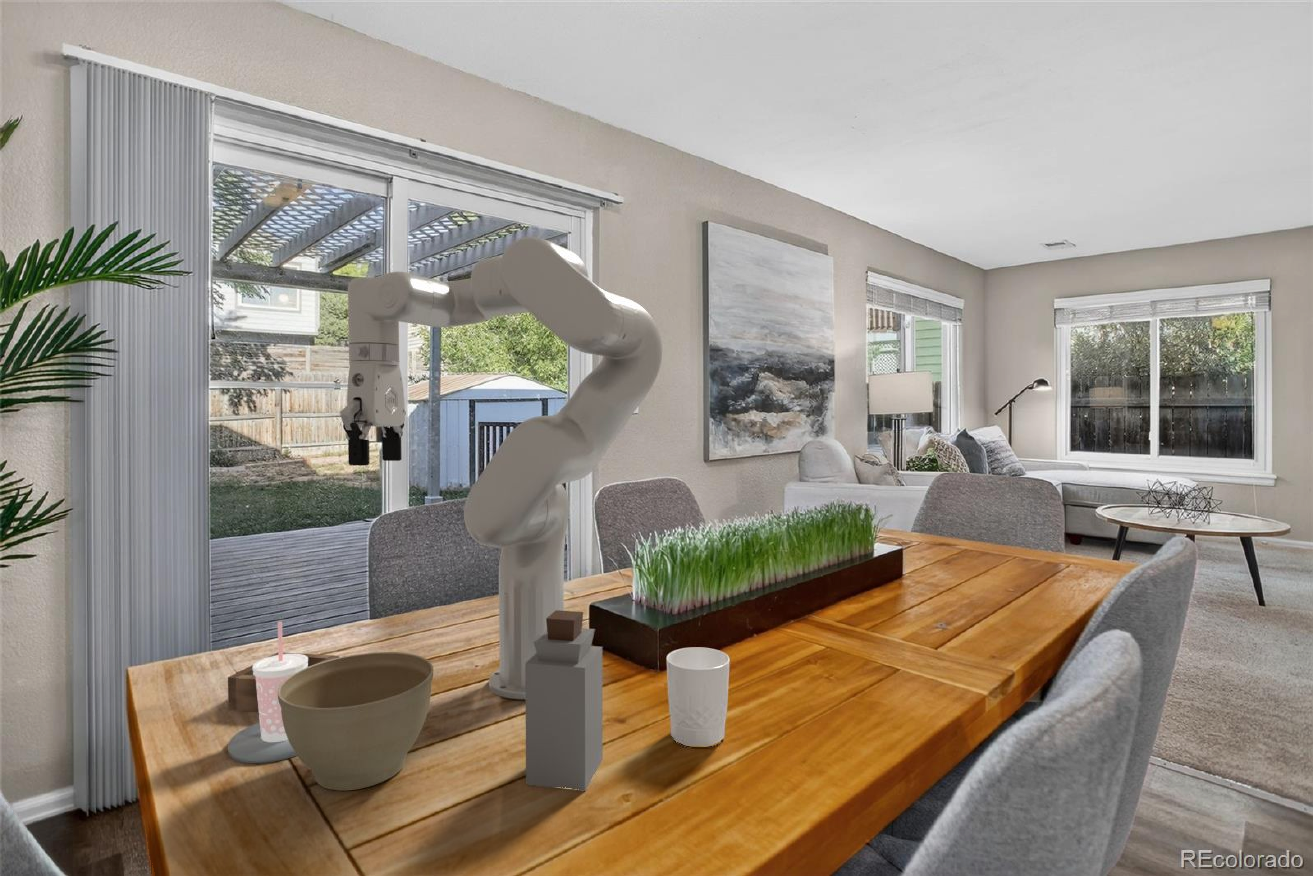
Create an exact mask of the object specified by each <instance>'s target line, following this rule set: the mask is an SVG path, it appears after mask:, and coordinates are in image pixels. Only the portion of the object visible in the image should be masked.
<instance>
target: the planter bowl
mask: <svg viewBox="0 0 1313 876" xmlns="http://www.w3.org/2000/svg"><path fill="white" fill-rule="evenodd" d="M433 678H434V665H433V664H432V662H431V661H430V660H428V659H427V658H425V657H423V656H420V655H418V654H417V655H416V654H414V653H407V652H397V651H396V652H395V651H382V652H379V651H378V652H368V653H359V654H352V655H351V654H350V655H345V656H341V657H340V656H339V658H335V659H331V660H327V661H324V662H320V663H317V664H315V665H312V666H309V667H307V668H304V669H302V670H300V671H298V672H296V673H294V674H293V675H291V676H290V677H288V678H287V679H286V680H284V681H283V682H282V683H281V685H280V686H279V688H278V700H279V704H280V706H281V714H282V721H283V725H284V729H285V732H286V735H287V738H288V740H289V742H290V744H291V746H292V748H293V749H294V751H295V753H296V754H297V755H298V756H297V757H298V758H299V759H300V761H301V762H302V763H303V764H304V765H305V766H306V767H307V768H308V770H309V769H310V771H312V772H313V775H314V778H315V782H317V784H318V785H320V786H321V787H323V788H324V789H327V790H332V791H353V790H361V789H364V788H365V789H366V788H369V787H371V786H375V785H377V784H378V785H379V784H380V783H383V782H385V781H387V780H389V779H391V778H392V777H394V776H395V775H396V774H398V773H399V772H400V771H401V770H402V769H403V768H404V766H405V764H406V761H407V754H408V753H409V751H410V750H411V749H412V747H413V745H414V743H415V742H416V741H417V739H418V737H419V735H420V733H421V731H422V729H423V726H424V724H425V721H426V718H427V715H428V712H429V707H430V705H431V704H430V703H431V695H432V682H433Z"/></svg>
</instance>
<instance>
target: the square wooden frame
mask: <svg viewBox="0 0 1313 876" xmlns="http://www.w3.org/2000/svg"><path fill="white" fill-rule="evenodd" d="M283 654H300V653H295V652H283ZM301 654H302V655H305V656H307V657H308V667H309V666H312V665H315V664H317V663H320V662H324V661H327V660H331V659H335V658H339V657H340V655H329V654H315V653H314V654H312V653H301ZM276 655H278V652H275V653H274V654H272V655H270V656H267V657H266V658H268V657H272V656H276ZM252 667H253V664H251V665H250V666H247V667H246V668H244V669H242V670H240V671H238V672H236V673H234V674H231V675H230V676H228V677H227V695H228V697H227V698H228V699H227V700H228V704H227V705H228V711H236V712H237V711H238V712H251V713H259V709H258V698H257V688H256V677H255V675H253V670H252ZM306 668H307V667H306Z"/></svg>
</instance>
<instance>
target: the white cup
mask: <svg viewBox="0 0 1313 876" xmlns="http://www.w3.org/2000/svg"><path fill="white" fill-rule="evenodd" d="M729 678H730V657H729V655H728V654H727V653H725V652H723V651H722V650H718V649H715V648H709V647H704V646H703V647H701V646H700V647H696V646H695V647H692V646H691V647H682V648H679V649H674V650H672V651H671V652H669V653H668V654H667V655H666V679H667V681H666V682H667V698H668V713H669V716H670V717H669V718H670V719H669V720H670V737H671V736H672V737H673V738H674V739H673V738H672V737H671V738H672V739H673V741H674V740H675V741H676V742H675V741H674V742H675V743H677V742H679V743H681V744H683V745H686V746H710V745H713V744H715V743H718V742H720V741H721V740H722V739H723V738H724V739H725V731H726V730H725V729H726V726H725V725H726V718H727V715H728V714H727V713H728V703H729V702H728V699H729V681H730V679H729ZM679 743H678V744H679ZM720 743H721V742H720ZM681 744H680V745H681ZM683 745H682V746H683ZM686 746H685V747H686Z"/></svg>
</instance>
